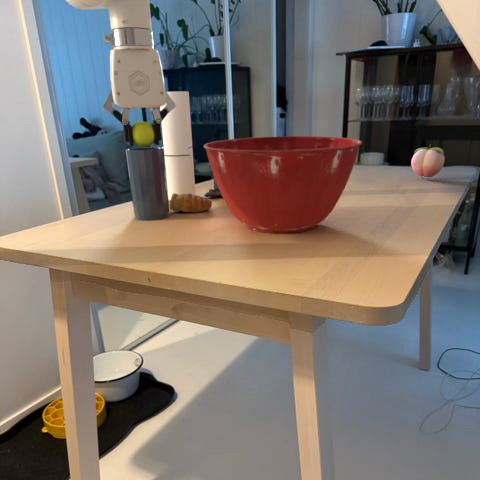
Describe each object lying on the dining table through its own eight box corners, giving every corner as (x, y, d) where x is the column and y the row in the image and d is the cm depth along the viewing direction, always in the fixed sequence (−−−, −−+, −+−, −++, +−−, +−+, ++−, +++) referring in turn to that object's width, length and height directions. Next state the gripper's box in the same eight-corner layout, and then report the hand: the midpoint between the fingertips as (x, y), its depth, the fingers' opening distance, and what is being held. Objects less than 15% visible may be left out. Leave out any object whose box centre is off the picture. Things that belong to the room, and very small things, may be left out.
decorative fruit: (446, 178, 138) (452, 143, 134) (436, 182, 133) (441, 145, 128) (416, 176, 144) (420, 142, 140) (405, 179, 138) (409, 144, 134)
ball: (133, 148, 92) (130, 121, 90) (130, 147, 96) (127, 121, 94) (158, 147, 93) (155, 120, 91) (154, 146, 98) (151, 120, 96)
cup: (137, 221, 96) (128, 151, 91) (132, 214, 103) (124, 148, 97) (172, 218, 99) (166, 148, 93) (166, 211, 105) (159, 146, 99)
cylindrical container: (200, 196, 122) (194, 91, 111) (186, 201, 116) (178, 91, 106) (177, 195, 125) (169, 92, 114) (163, 200, 119) (152, 92, 108)
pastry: (213, 207, 109) (212, 190, 107) (210, 213, 102) (209, 195, 101) (174, 207, 109) (173, 191, 108) (168, 213, 103) (167, 196, 101)
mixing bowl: (373, 241, 77) (383, 143, 71) (204, 247, 77) (198, 149, 71) (338, 208, 103) (342, 134, 96) (211, 212, 103) (207, 138, 96)
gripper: (87, 38, 81) (102, 148, 89) (181, 40, 86) (188, 144, 94) (85, 44, 88) (100, 146, 95) (173, 45, 93) (180, 142, 100)
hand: (143, 144), depth 95 cm, fingers closed on ball, 4 cm apart
